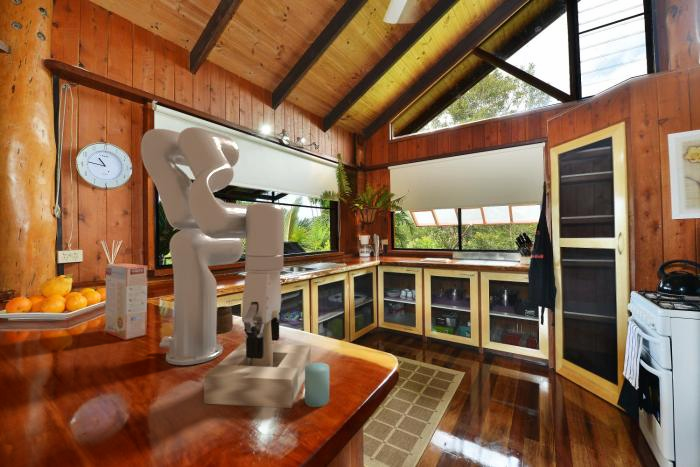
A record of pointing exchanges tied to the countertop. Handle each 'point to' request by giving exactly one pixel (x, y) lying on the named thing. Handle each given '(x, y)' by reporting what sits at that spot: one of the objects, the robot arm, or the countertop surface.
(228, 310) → the utensil holder
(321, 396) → the short dowel
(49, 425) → the countertop surface
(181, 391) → the countertop surface
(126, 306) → the cracker box
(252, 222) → the robot arm
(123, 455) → the countertop surface
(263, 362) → the handle
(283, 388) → the socket block
